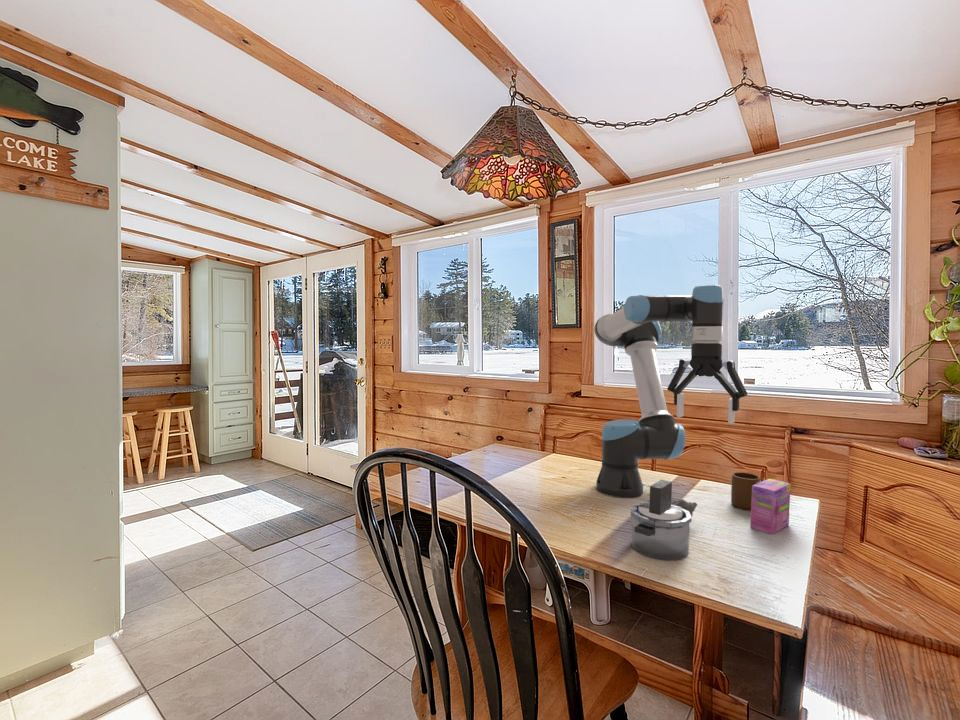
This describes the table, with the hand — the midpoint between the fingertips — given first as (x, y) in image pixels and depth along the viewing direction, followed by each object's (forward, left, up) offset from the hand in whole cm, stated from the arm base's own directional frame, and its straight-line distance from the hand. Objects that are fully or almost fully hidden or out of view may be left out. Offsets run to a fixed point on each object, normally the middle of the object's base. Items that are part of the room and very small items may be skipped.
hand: (704, 419), depth 130 cm
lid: (-1, -24, -21) cm, 32 cm away
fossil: (-4, -7, -29) cm, 30 cm away
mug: (+6, +21, -29) cm, 36 cm away
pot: (-1, -24, -29) cm, 37 cm away
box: (+14, +10, -29) cm, 34 cm away
